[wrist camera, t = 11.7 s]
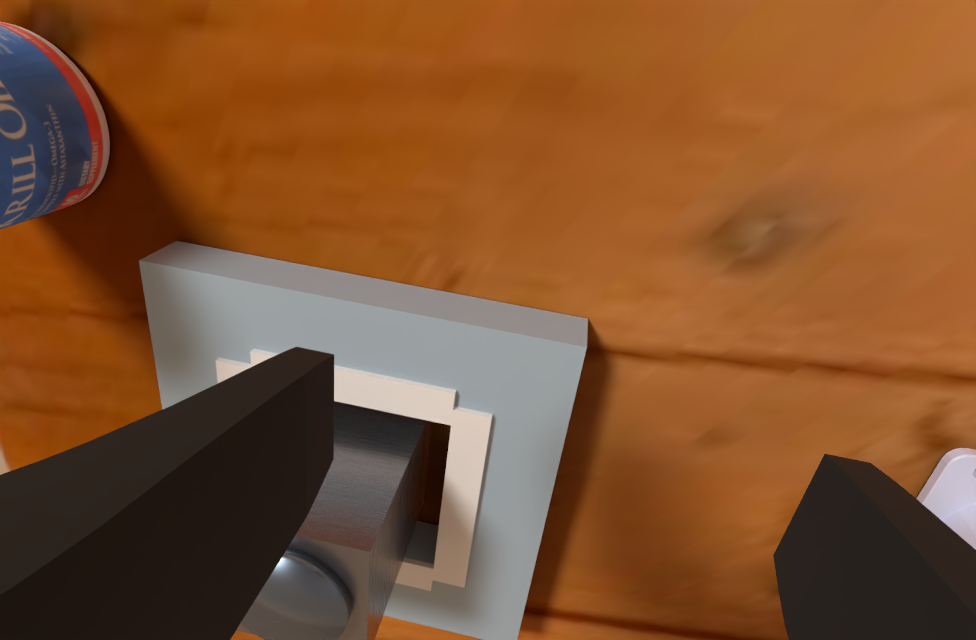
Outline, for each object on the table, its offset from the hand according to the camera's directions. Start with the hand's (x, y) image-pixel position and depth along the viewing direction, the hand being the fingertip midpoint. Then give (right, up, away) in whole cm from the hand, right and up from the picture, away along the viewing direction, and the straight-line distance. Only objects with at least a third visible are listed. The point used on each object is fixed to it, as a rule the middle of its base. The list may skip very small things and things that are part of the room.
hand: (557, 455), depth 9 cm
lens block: (-5, -3, +13) cm, 14 cm away
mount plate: (-5, -3, +13) cm, 14 cm away
